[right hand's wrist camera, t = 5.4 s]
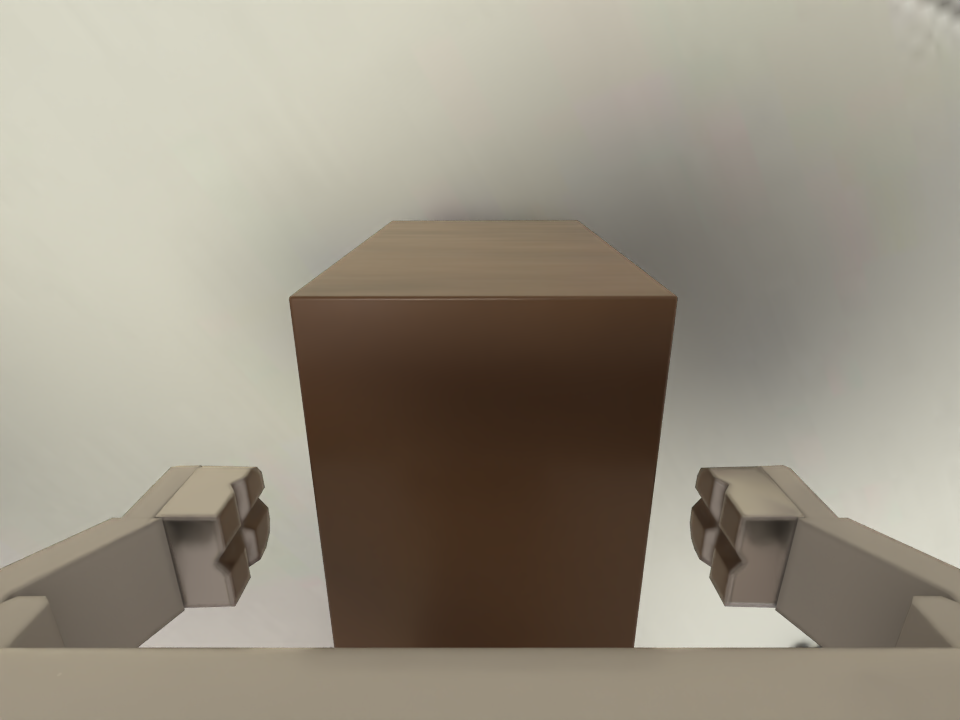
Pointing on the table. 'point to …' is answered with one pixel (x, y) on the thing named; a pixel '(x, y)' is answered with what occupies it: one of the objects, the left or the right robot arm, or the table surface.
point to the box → (483, 433)
